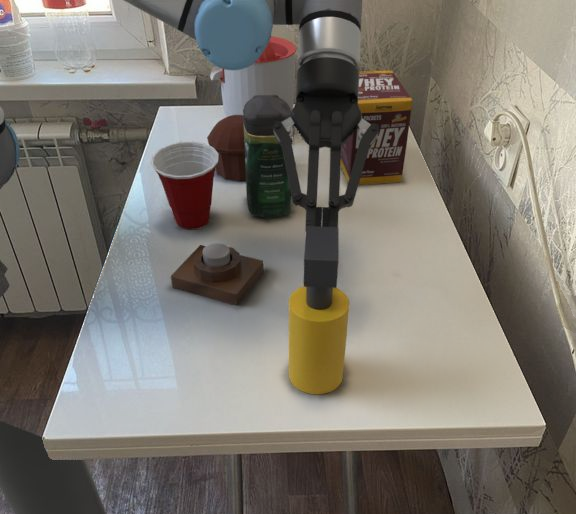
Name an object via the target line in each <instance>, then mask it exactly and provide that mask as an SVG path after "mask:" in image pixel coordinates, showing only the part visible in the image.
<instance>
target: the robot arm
mask: <svg viewBox="0 0 576 514" xmlns="http://www.w3.org/2000/svg"><path fill="white" fill-rule="evenodd" d="M123 1H124V2H125V3H127V4H129V5H131V6H132V7H135V8H137V9H138V10H140V11H142V12H144V13H146V14H148V15H149V16H151V17H153V18H155V19H157V20H158V21H161V22H162V23H164V24H166V25H168V26H170V27H172V28H174V29H175V30H177V31H179V32H181V33H182V34H184V35H186V36H188V37H190V38H191V39H193V40H195V41H196V44H197V46H198V48H199V50H200V52H201V53H202V54H203V56H204V57H205V58H206V60H208V61H209V62H210V63H211V64H213V66H217V67H219V68H222V69H226V70H240V69H244V68H247V67H249V66H250V65H252V64H253V63H254V62H256V61H257V60H258V58H259V57H260V56H261V54H262V53H263V51H264V50H265V47H266V46H267V45H268V43H269V41H270V38H271V36H272V32H273V28H274V25H275V26H280V25H281V26H293V25H297V26H298V38H297V40H298V41H297V63H296V64H297V67H298V69H297V71H296V72H297V73H296V85H295V89H296V90H295V102H294V105H293V109H292V112H291V117H289V118H287V119H286V120H284V121H282V122H280V121H276V122H274V124H273V130H274V135H275V137H276V139H277V140H278V142H279V144H280V145H281V147H282V151H283V156H284V161H285V166H286V172H287V177H288V182H289V187H290V192H291V203H292V204H293V205H294V206H295V207H301V208H303V209H304V210H305V229H304V230H305V233H306V227H307V226H314V227H338V228H339V214H340V211H341V210H342V209H345V208H351V207H352V206H354V205H353V204H354V202H355V199H356V196H357V192H358V188H359V186H360V185H359V181H360V178H361V174H362V171H363V167H364V164H365V160H366V156H367V153H368V150H369V148H370V147H371V146H372V144H373V143H374V141H375V140H376V139H377V136H378V132H379V126H378V125H377V124H370V123H368V122H367V121H365V120H364V119H362V113H361V110H360V109H359V106H358V92H359V72H360V71H359V68H360V64H361V42H362V34H361V32H362V31H361V30H362V14H363V0H123ZM294 128H295V129H296V130H297V132H298V134H299V135H300V136H301V138H302V140H303V141H304V142H305V144H307V146H308V159H307V161H308V163H307V180H306V181H307V182H306V194H305V193H303V192H302V189H301V184H300V180H299V179H300V178H299V174H298V168H297V164H296V158H295V155H294V154H295V153H294V148H293V142H292V143H291V138H292V139H293V137H294ZM356 129H358V130H359V132H358V139H359V141H360V143H359V146H358V150H357V153H356V157H355V161H354V164H353V168H352V171H351V175H350V178H349V182H348V183H347V186H346V189H345V193H344V194H340V188H341V187H340V186H341V165H340V162H341V146H342V145H344V144H345V142H346V141H347V140H348V139H349V137H350V136H351V135H352V134H353V132H354V131H355V130H356ZM322 148H327V149H330V155H329V179H328V180H329V184H328V206H317V205H318V204H317V203H318V188H319V187H318V185H319V166H320V165H319V164H320V163H319V162H320V149H322ZM20 149H21V148H20V142H19V139H18V136H17V133H16V130H14V128H13V126H11V125H9V124H8V123H7V119H6V115H5V111H4V109H3V108H2V106H0V190H1V189H2V188H3V187H4V186H5V185H6V184H7V183H8V182H9V181H10V179H11V178H12V176H13V175H14V173H15V170H16V168H17V166H18V164H19V160H20V156H21V155H20V153H21V150H20ZM8 269H9V268H8V267H7V266H6V265H5V264H4V263H3V262H2V260H0V298H1V297H3V295H5V293H7V291H8V289H9V288H10V283H9V281H8V279H7V277H6V275H5V274H6V273H7V271H8Z"/></svg>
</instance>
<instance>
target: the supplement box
mask: <svg viewBox="0 0 576 514" xmlns="http://www.w3.org/2000/svg"><path fill="white" fill-rule="evenodd" d="M413 101H414V100H413V99H412V97H411V96H410V94H409V93H408V92H407V90H406V89H405V88H404V86H403V83H401V82H400V80H399V79H398V77H397V76H396V75H395V73H394V71H393V70H365V71H364V70H363V71H359V92H358V106H359V109H360V110H361V113H362V119H364V120H365V121H367V122H368V123H370V124H377V125H378V126H379V132H378V136H377V139H376V140H375V141H374V143H373V144H372V146H371V147H370V148H369V150H368V153H367V156H366V160H365V164H364V167H363V171H362V174H361V178H360V181H359V185H358V186H361V185H362V186H364V185H377V184H379V185H380V184H394V183H402V181H403V174H404V166H405V160H406V152H407V145H408V136H409V132H410V131H409V130H410V121H411V115H412V107H413ZM358 132H359V130H358V129H356V130H355V131H354V132H353V134H352V135H351V136H350V137H349V139H348V140H347V141H346V142H345V144H344V145H342V146H341V162H340V169H341V170H342V173H343V175H344V177H345V180H346V183H347V184H348V182H349V178H350V175H351V171H352V168H353V164H354V161H355V157H356V153H357V150H358V146H359V143H360V141H359V139H358Z"/></svg>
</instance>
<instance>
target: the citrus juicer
mask: <svg viewBox="0 0 576 514" xmlns="http://www.w3.org/2000/svg"><path fill="white" fill-rule="evenodd" d="M296 52H297V46H296V45H295V43H293V41H290V40H289V39H285V38H283V37H279V36H278V37H277V36H273V35H271V38H270V41H269V43H268V45H267V46H266V47H265V50H264V51H263V53H262V54H261V56H260V57H259V58H258V60H257V61H256V62H254V63H253V64H252V65H250V66H249V67H247V68H244V69H240V70H226V69H222V68H219V67H217V66H215V65H213V67H212V68H211V72H210V76H209V78H210V80H211V81H214V80H218V79H220V89H221V91H220V92H221V99H222V100H221V101H222V105H223V110H224V114H225V116H226V117H228V116H231V115H243V109H244V105H245V104H246V102H247V101H249V100H250V99H251V98H253V96H255V95H277V96H278V97H279V98H281V99H283V100H284V101H285V102H287V103H288V105H289V107H290V110H291V112H292V109H293V108H294V105H295V95H296V90H295V89H296V76H295V75H296Z"/></svg>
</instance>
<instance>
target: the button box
mask: <svg viewBox="0 0 576 514" xmlns="http://www.w3.org/2000/svg"><path fill="white" fill-rule="evenodd" d="M206 246H207V245H202V244H200V245H199V246H198V247H197V248H196V249H195V250H194V251H193V252H192V253H191V254H190V255H189V256H188V257H187V258H186V259H185V260H184V261H183V262H182V263H181V265H180V266H179V267H177V269H176V270H175V271H174V272H173V273H172V274H171V275H170V280H171V286H172V289H176V290H180V291H183V292H186V293H187V292H188V293H191V294H194V295H198V296H201V297H205V298H208V299H212V300H216V301H220V302H223V303H226V304H229V305H233V306H237V307H238V306H239V305H240V304H241V303H242V301H243V300H244V298H245V297H246V296H247V295H248V293H249V292H250V291H251V290H252V288H253V287H254V285H256V283H257V282H258V281H259V279H260V278H261V277H262V275H263V274H264V272H265V271H264V270H265V269H264V268H265V267H264V260H262V259H258V258H254V257H251V256H246V255H243V254H242V255H241V254H240V252H239V251H237V250H236V249H235V248H234V247H232V246H228V247H229V249H230V263H229V264H227V265H225V266H223V267H209V266H206V265H205V264H204V261H203V249H204V248H205V247H206Z"/></svg>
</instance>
